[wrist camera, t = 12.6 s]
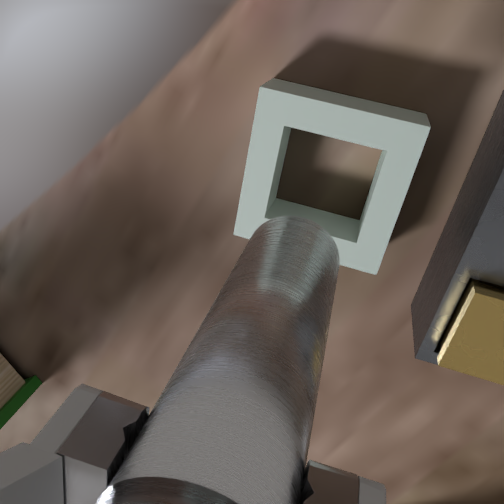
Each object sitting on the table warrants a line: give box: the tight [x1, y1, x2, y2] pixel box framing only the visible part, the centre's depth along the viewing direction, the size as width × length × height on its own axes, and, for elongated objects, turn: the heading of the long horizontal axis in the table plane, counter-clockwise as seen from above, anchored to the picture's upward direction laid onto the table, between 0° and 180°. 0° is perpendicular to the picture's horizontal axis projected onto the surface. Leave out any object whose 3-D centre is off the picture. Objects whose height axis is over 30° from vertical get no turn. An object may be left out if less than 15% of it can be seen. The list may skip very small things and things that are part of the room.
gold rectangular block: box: [437, 278, 504, 385], centre depth 24 cm, size 4×4×6 cm
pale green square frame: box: [233, 78, 431, 275], centre depth 25 cm, size 8×8×3 cm
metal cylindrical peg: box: [95, 216, 340, 504], centre depth 12 cm, size 4×4×12 cm
